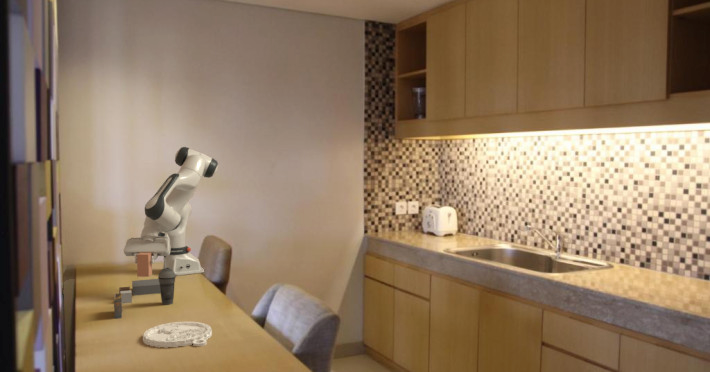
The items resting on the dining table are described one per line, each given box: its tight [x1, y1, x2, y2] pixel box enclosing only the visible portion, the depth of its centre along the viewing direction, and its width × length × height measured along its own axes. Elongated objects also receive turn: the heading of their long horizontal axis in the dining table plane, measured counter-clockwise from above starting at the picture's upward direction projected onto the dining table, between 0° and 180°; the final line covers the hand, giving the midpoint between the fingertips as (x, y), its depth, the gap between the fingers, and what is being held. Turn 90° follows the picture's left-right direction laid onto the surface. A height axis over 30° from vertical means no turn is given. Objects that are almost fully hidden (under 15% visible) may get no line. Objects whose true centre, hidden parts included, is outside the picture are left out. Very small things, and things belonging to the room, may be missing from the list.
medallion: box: [142, 320, 213, 349], centre depth 201 cm, size 24×27×2 cm
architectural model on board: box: [113, 293, 123, 320], centre depth 229 cm, size 11×3×10 cm, turn 21°
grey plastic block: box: [120, 289, 133, 304], centre depth 248 cm, size 4×4×4 cm
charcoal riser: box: [131, 278, 161, 296], centre depth 268 cm, size 13×13×4 cm
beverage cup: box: [157, 257, 177, 306], centre depth 245 cm, size 7×7×20 cm
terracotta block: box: [136, 253, 153, 278], centre depth 256 cm, size 5×5×10 cm
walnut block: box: [118, 286, 131, 294], centre depth 255 cm, size 4×4×4 cm
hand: (144, 262), depth 255 cm, fingers closed on terracotta block, 5 cm apart
